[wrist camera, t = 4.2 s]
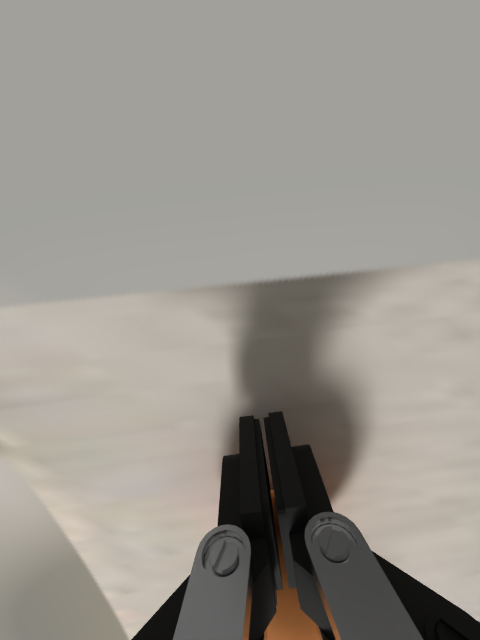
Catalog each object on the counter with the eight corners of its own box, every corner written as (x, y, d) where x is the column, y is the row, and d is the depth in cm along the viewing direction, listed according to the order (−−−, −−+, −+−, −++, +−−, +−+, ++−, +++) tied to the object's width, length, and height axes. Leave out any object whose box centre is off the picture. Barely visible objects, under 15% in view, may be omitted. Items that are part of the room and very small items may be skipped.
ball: (334, 446, 12) (421, 630, 6) (345, 545, 14) (423, 765, 8) (202, 467, 12) (170, 662, 7) (227, 562, 14) (219, 787, 8)
